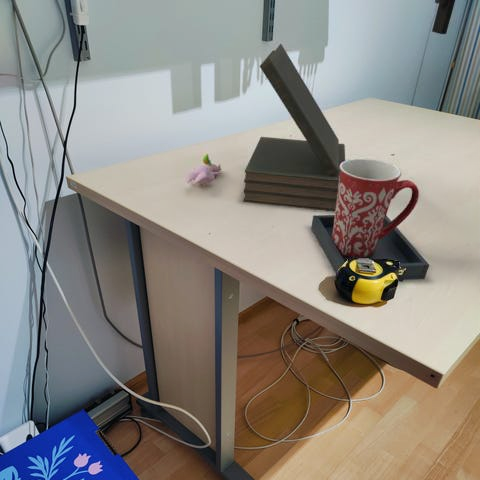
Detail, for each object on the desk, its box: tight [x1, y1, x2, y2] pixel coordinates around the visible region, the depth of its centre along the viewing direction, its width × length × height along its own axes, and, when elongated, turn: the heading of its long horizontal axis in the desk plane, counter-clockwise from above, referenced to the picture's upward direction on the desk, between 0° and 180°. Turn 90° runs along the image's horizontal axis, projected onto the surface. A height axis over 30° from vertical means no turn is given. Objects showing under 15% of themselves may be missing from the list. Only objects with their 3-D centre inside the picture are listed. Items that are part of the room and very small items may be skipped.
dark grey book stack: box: [242, 43, 346, 212], centre depth 85 cm, size 23×20×25 cm
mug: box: [332, 157, 420, 258], centre depth 67 cm, size 13×9×14 cm
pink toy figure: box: [185, 153, 223, 186], centre depth 91 cm, size 6×6×15 cm
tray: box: [310, 214, 431, 281], centre depth 71 cm, size 14×18×3 cm
